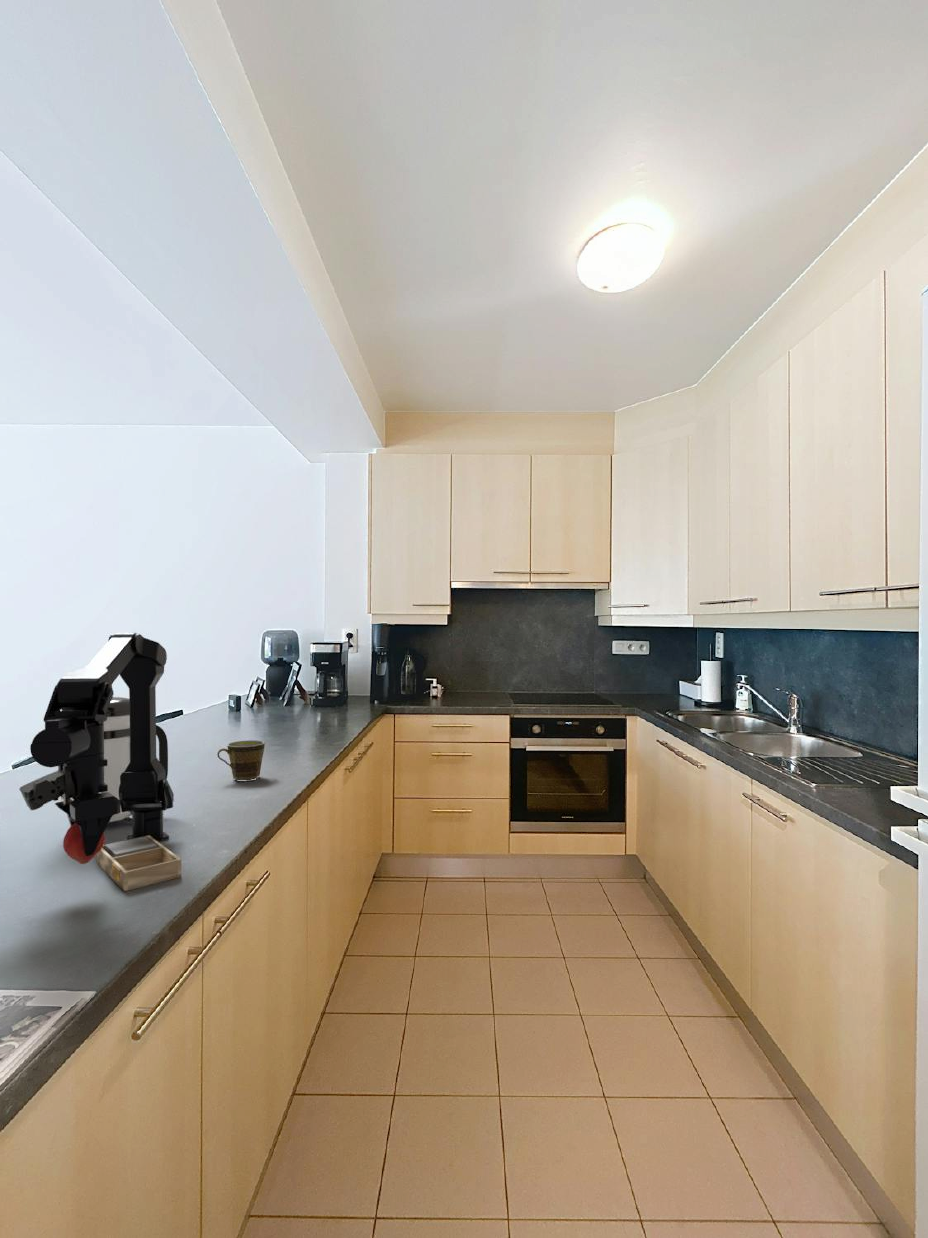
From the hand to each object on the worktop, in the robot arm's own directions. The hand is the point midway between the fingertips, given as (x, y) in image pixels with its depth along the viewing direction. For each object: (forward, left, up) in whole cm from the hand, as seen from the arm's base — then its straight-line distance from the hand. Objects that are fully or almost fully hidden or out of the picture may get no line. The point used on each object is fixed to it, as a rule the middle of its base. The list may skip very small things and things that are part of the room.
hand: (84, 850), depth 106 cm
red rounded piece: (0, 0, -2) cm, 2 cm away
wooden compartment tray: (-6, +10, -7) cm, 13 cm away
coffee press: (-40, +14, -7) cm, 43 cm away
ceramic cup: (-58, +51, -7) cm, 78 cm away
